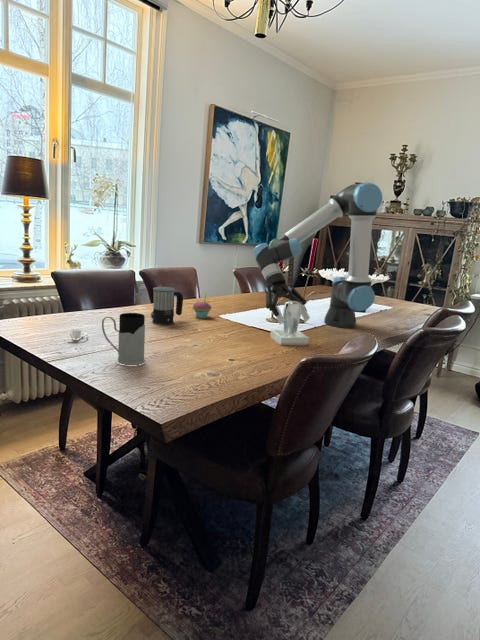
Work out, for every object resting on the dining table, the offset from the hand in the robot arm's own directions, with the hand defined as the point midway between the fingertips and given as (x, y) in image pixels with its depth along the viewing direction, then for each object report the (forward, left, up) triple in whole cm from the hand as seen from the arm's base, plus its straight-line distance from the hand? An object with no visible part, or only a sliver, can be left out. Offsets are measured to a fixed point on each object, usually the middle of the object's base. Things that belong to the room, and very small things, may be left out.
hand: (295, 321), depth 170 cm
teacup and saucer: (+78, -5, -9) cm, 79 cm away
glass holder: (+66, +18, -9) cm, 69 cm away
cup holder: (+1, -2, -9) cm, 9 cm away
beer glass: (+1, -2, -8) cm, 8 cm away
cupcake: (+29, -41, -9) cm, 51 cm away
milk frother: (+48, -35, -9) cm, 60 cm away
